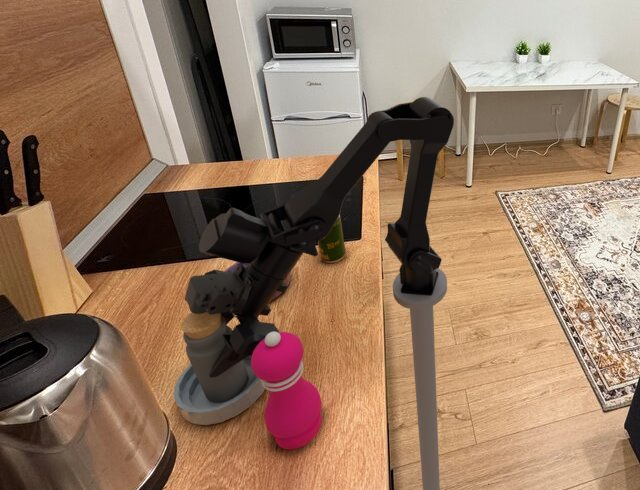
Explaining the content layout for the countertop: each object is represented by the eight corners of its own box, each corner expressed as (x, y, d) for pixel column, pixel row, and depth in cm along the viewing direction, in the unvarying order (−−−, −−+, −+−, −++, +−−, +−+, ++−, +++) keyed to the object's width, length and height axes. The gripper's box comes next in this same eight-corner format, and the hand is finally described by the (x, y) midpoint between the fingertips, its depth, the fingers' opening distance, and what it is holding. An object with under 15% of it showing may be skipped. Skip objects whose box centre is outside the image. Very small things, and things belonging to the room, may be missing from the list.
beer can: (336, 245, 98) (329, 202, 93) (351, 255, 95) (344, 211, 90) (315, 257, 94) (307, 213, 89) (330, 267, 91) (322, 223, 86)
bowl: (286, 357, 72) (282, 343, 70) (242, 430, 61) (236, 416, 59) (216, 351, 72) (211, 337, 70) (160, 423, 61) (152, 408, 59)
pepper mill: (266, 422, 62) (232, 329, 53) (316, 394, 66) (293, 303, 57) (278, 465, 57) (244, 370, 48) (332, 432, 61) (310, 339, 52)
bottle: (256, 371, 69) (234, 305, 62) (232, 406, 63) (204, 338, 57) (223, 366, 69) (197, 300, 62) (196, 400, 64) (164, 332, 57)
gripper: (197, 227, 63) (129, 319, 61) (240, 294, 52) (159, 409, 50) (264, 246, 72) (207, 326, 70) (312, 305, 61) (246, 403, 59)
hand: (205, 361), depth 62 cm, fingers open, 7 cm apart
